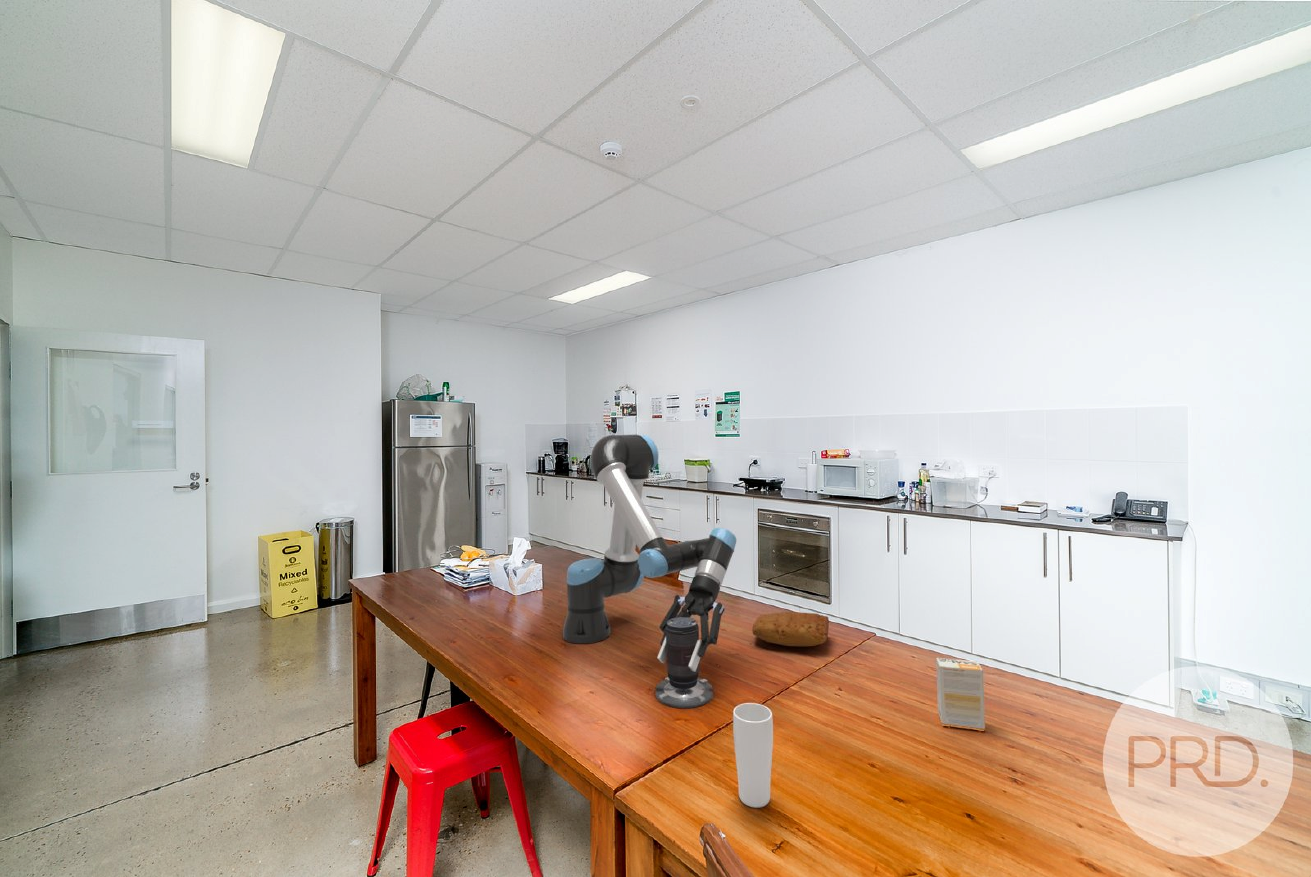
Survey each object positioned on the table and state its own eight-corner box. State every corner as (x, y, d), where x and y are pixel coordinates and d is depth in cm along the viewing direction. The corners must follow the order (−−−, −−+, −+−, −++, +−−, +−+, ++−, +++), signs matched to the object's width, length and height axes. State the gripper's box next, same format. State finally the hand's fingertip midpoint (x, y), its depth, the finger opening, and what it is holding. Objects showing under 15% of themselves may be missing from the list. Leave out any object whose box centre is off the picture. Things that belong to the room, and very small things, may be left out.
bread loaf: (832, 638, 164) (832, 612, 164) (826, 659, 148) (825, 631, 148) (761, 629, 173) (760, 604, 173) (748, 648, 158) (747, 621, 158)
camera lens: (700, 675, 134) (699, 616, 134) (699, 691, 126) (698, 628, 126) (668, 675, 135) (667, 615, 135) (665, 690, 127) (664, 627, 127)
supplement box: (979, 721, 115) (978, 660, 115) (985, 733, 111) (984, 670, 111) (937, 715, 118) (935, 656, 118) (941, 727, 113) (939, 665, 113)
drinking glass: (730, 787, 95) (728, 703, 95) (767, 784, 96) (766, 701, 96) (739, 814, 89) (737, 723, 88) (779, 811, 89) (777, 721, 89)
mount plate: (644, 691, 132) (644, 685, 132) (688, 676, 140) (688, 670, 140) (679, 714, 121) (679, 708, 121) (725, 696, 129) (724, 689, 129)
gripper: (748, 595, 137) (720, 682, 124) (679, 583, 149) (647, 662, 136) (738, 579, 133) (708, 667, 120) (668, 568, 145) (634, 648, 131)
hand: (676, 664), depth 128 cm, fingers closed on camera lens, 8 cm apart
